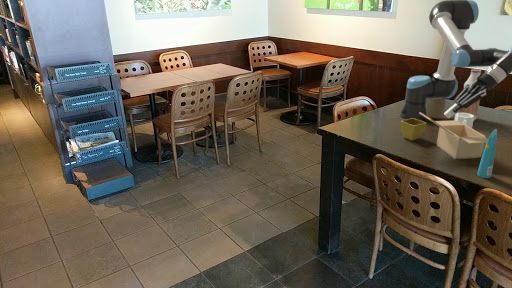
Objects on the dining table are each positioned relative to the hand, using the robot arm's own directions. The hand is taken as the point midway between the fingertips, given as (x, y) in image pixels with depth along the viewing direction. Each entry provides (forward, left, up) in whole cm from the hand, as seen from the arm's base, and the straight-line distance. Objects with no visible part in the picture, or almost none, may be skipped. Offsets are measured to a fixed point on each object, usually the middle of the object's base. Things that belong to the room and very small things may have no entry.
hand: (446, 116), depth 167 cm
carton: (+8, +4, -17) cm, 19 cm away
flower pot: (-13, +13, -18) cm, 26 cm away
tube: (+17, -19, -18) cm, 31 cm away
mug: (+9, +29, -18) cm, 35 cm away
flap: (+2, +1, -7) cm, 7 cm away
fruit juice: (+13, +58, -18) cm, 62 cm away
